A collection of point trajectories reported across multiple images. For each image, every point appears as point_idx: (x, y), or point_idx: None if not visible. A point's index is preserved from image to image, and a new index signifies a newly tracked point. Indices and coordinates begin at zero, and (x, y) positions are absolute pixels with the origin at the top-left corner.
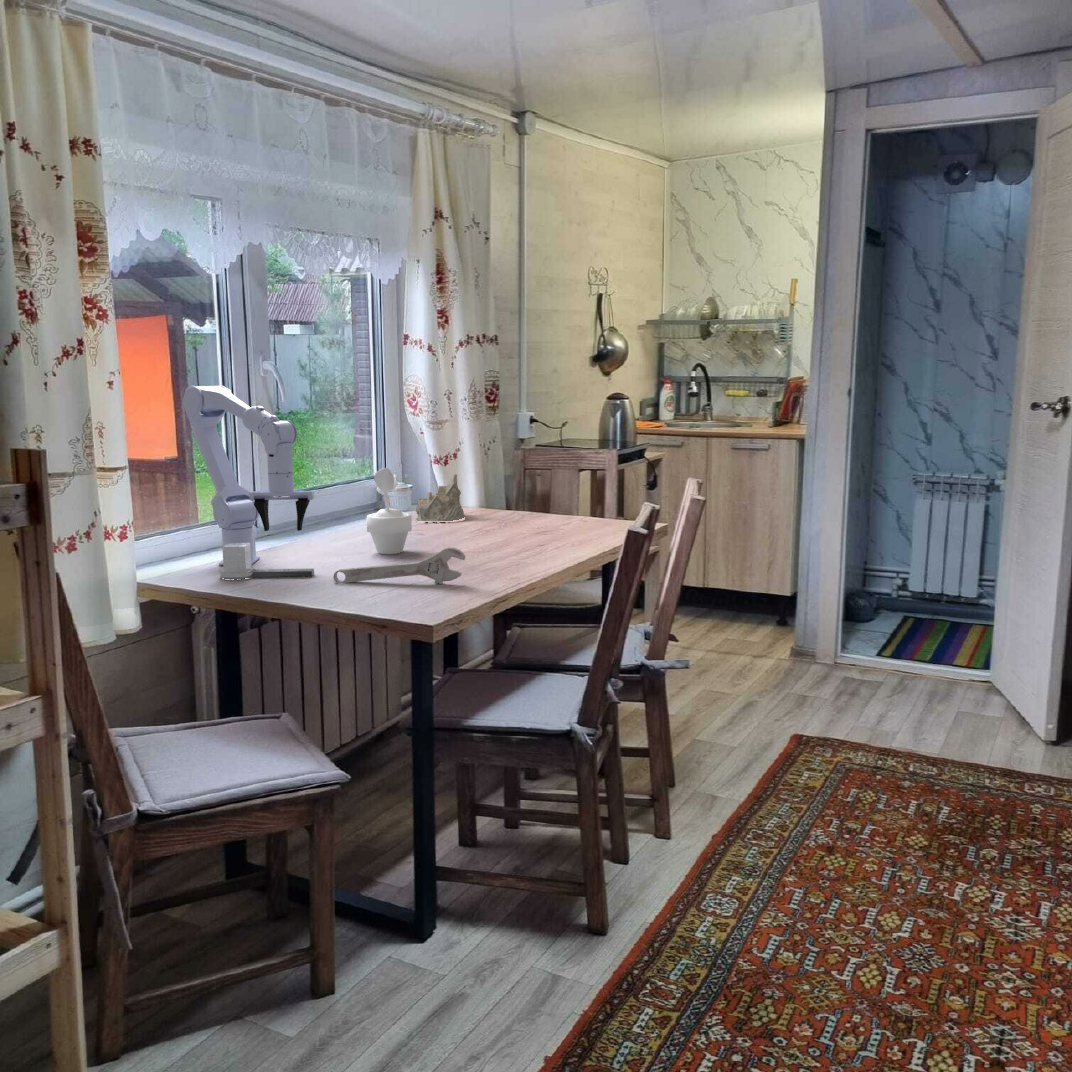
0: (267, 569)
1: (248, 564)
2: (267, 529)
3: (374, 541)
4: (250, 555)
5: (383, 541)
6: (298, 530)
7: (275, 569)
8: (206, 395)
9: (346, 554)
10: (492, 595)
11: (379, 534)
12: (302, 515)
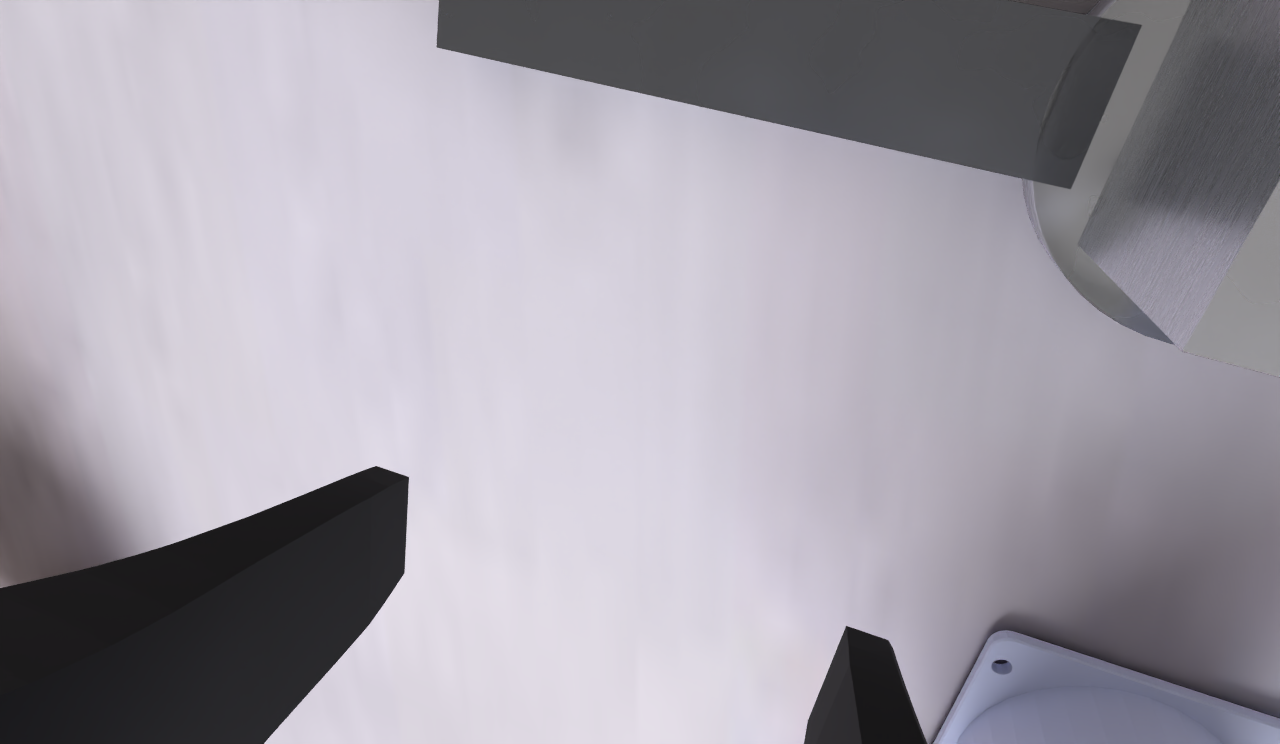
0: (903, 125)
1: (1161, 124)
2: (840, 654)
3: None
4: (1128, 272)
5: None
6: (393, 472)
7: (814, 102)
8: None
9: (335, 691)
10: None
11: None
12: (126, 560)
